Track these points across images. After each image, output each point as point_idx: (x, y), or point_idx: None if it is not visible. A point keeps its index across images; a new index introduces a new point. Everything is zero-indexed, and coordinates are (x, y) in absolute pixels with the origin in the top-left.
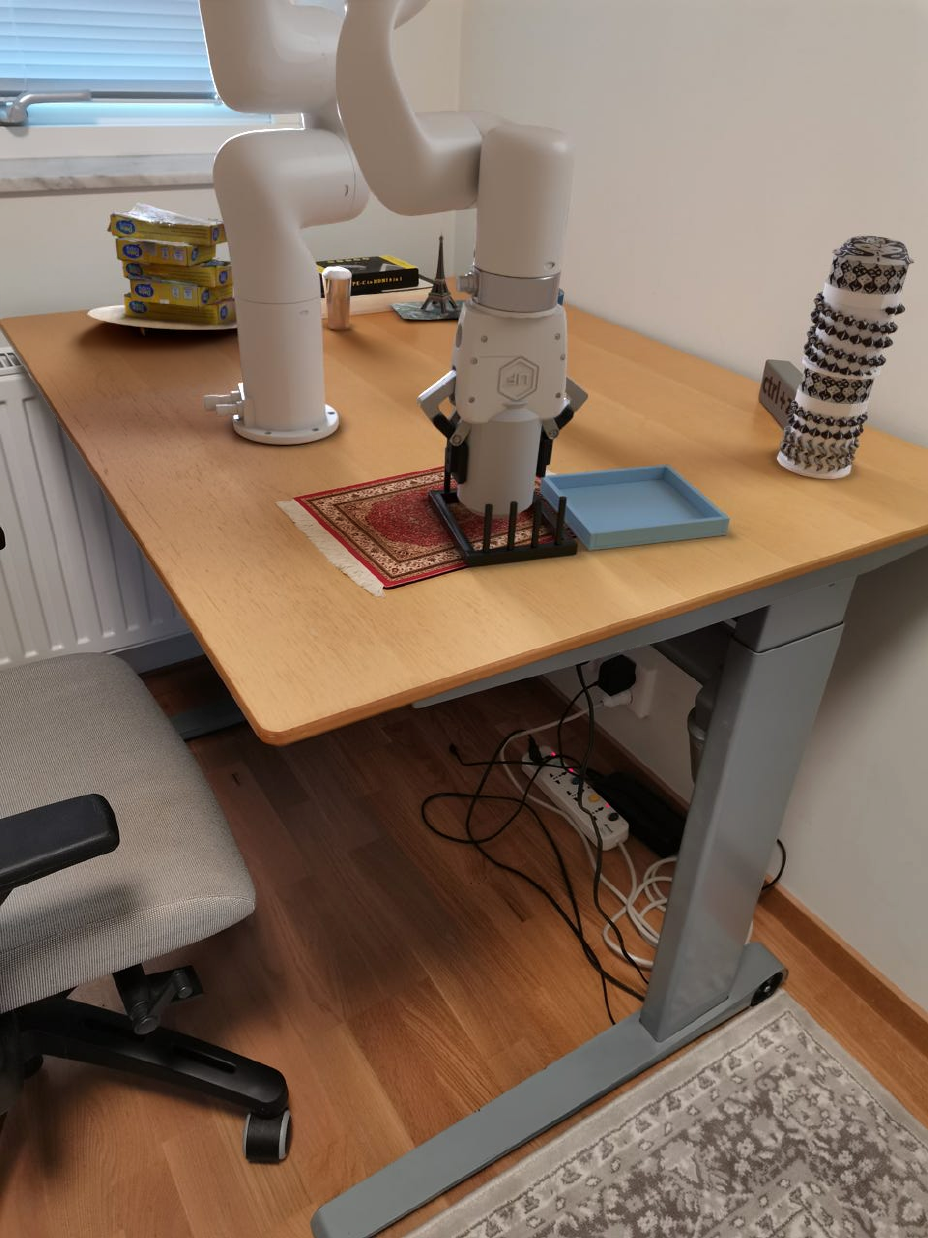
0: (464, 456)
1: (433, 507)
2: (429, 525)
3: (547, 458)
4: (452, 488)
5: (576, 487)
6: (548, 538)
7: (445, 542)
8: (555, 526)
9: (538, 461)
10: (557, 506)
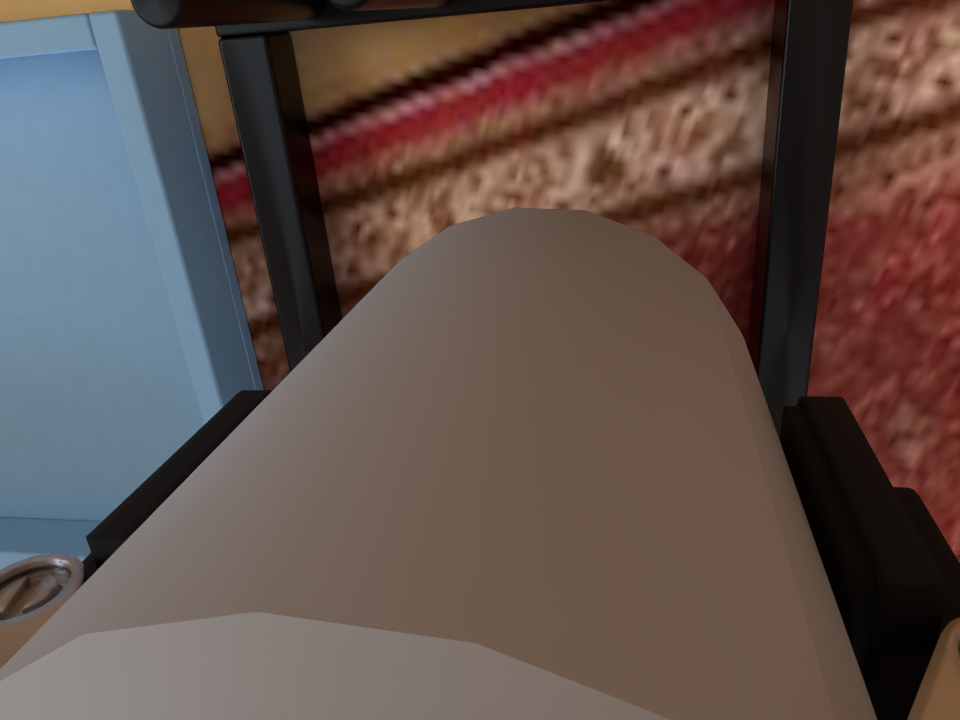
0: (871, 517)
1: None
2: (855, 381)
3: (176, 452)
4: None
5: None
6: (337, 167)
7: (846, 212)
8: (287, 184)
9: None
10: (248, 389)
